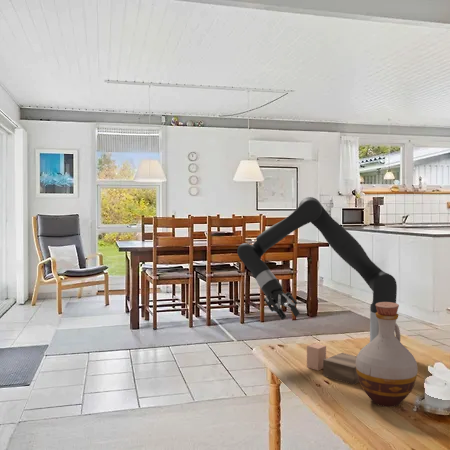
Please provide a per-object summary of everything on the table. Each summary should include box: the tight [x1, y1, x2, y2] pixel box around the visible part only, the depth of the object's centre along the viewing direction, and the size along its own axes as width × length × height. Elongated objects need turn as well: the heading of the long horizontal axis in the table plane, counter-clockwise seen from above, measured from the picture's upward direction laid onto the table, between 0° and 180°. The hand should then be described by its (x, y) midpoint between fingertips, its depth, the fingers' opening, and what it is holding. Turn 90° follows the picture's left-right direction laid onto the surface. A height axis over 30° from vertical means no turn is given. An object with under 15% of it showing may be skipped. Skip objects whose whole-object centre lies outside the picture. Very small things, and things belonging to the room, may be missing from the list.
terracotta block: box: [306, 342, 327, 371], centre depth 178 cm, size 5×5×8 cm
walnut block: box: [322, 352, 360, 385], centre depth 169 cm, size 12×12×6 cm
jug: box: [356, 302, 418, 408], centre depth 147 cm, size 20×18×30 cm
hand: (291, 316), depth 186 cm, fingers open, 8 cm apart
